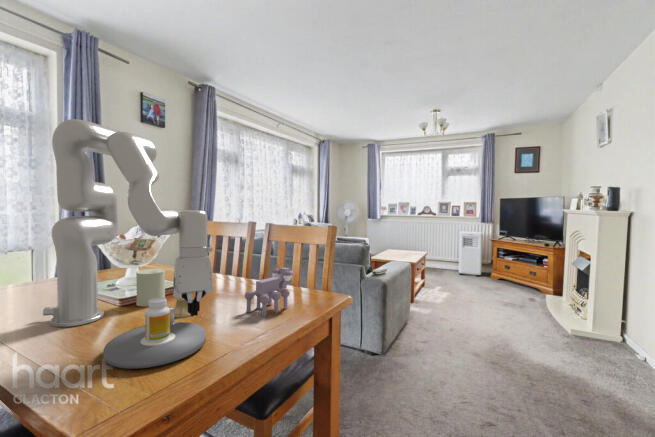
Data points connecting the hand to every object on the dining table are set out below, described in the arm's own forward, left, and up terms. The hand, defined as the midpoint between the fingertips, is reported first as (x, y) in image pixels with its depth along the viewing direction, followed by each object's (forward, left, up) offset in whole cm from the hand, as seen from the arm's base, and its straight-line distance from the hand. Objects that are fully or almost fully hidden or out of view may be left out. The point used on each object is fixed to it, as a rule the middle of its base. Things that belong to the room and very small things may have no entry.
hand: (193, 314), depth 90 cm
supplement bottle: (-6, -12, -2) cm, 14 cm away
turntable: (-6, -12, -4) cm, 14 cm away
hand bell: (-5, +13, -4) cm, 14 cm away
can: (-19, +27, -4) cm, 33 cm away
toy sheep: (+25, +13, -4) cm, 28 cm away
